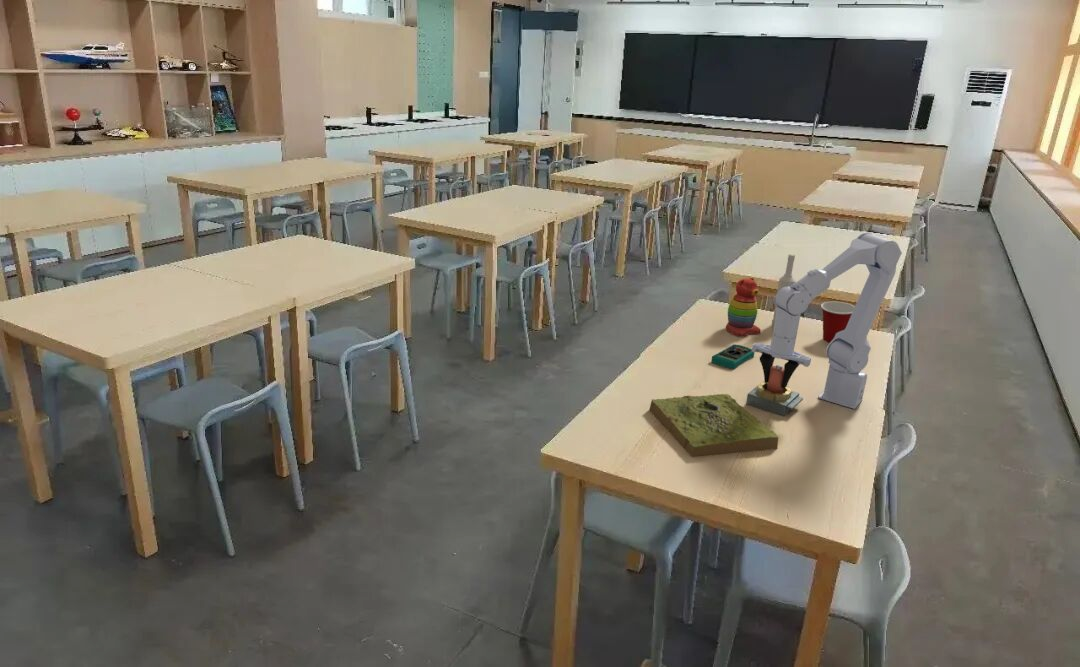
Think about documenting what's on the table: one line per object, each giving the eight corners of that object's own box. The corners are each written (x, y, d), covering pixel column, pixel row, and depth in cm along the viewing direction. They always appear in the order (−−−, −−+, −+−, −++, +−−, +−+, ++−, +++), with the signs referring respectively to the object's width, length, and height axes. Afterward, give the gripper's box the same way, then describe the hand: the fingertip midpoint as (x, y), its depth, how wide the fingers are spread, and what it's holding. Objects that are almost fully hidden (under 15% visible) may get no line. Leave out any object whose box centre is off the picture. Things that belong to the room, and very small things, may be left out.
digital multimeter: (754, 357, 221) (756, 348, 220) (733, 371, 210) (734, 361, 209) (732, 351, 225) (733, 342, 224) (710, 364, 214) (711, 354, 213)
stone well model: (802, 405, 190) (805, 389, 188) (789, 418, 182) (792, 401, 180) (760, 392, 196) (763, 376, 194) (745, 404, 188) (748, 388, 187)
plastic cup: (807, 337, 239) (813, 302, 235) (830, 333, 244) (837, 299, 240) (833, 348, 230) (841, 313, 226) (856, 344, 235) (864, 309, 231)
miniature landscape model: (691, 459, 161) (694, 439, 160) (648, 411, 182) (650, 393, 181) (777, 451, 167) (781, 431, 165) (726, 405, 188) (729, 387, 187)
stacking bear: (738, 337, 235) (747, 284, 229) (717, 327, 243) (725, 276, 237) (763, 333, 240) (772, 281, 234) (741, 323, 248) (749, 273, 242)
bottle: (785, 324, 250) (798, 253, 241) (788, 329, 245) (801, 257, 236) (769, 323, 250) (782, 252, 242) (772, 328, 246) (785, 256, 237)
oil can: (784, 389, 189) (789, 365, 186) (780, 395, 186) (785, 370, 183) (768, 385, 191) (773, 361, 188) (764, 390, 187) (769, 366, 185)
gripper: (750, 331, 184) (742, 380, 188) (808, 346, 176) (798, 397, 180) (761, 324, 189) (753, 372, 194) (817, 339, 181) (807, 388, 186)
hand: (775, 384), depth 187 cm, fingers closed on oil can, 4 cm apart
